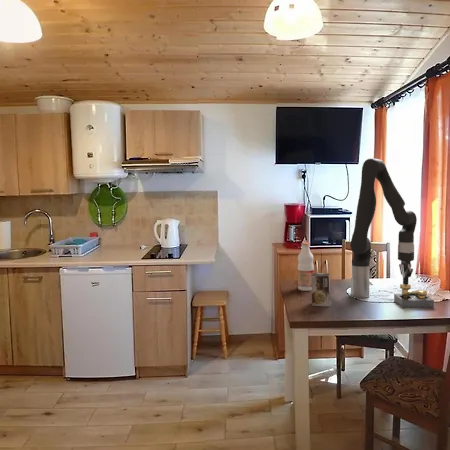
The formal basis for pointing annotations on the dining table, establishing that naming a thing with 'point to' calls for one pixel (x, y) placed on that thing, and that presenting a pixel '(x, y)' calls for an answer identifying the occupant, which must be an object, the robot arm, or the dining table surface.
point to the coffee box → (320, 289)
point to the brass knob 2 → (421, 293)
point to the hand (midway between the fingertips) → (405, 284)
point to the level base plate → (413, 301)
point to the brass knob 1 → (405, 290)
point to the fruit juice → (305, 268)
